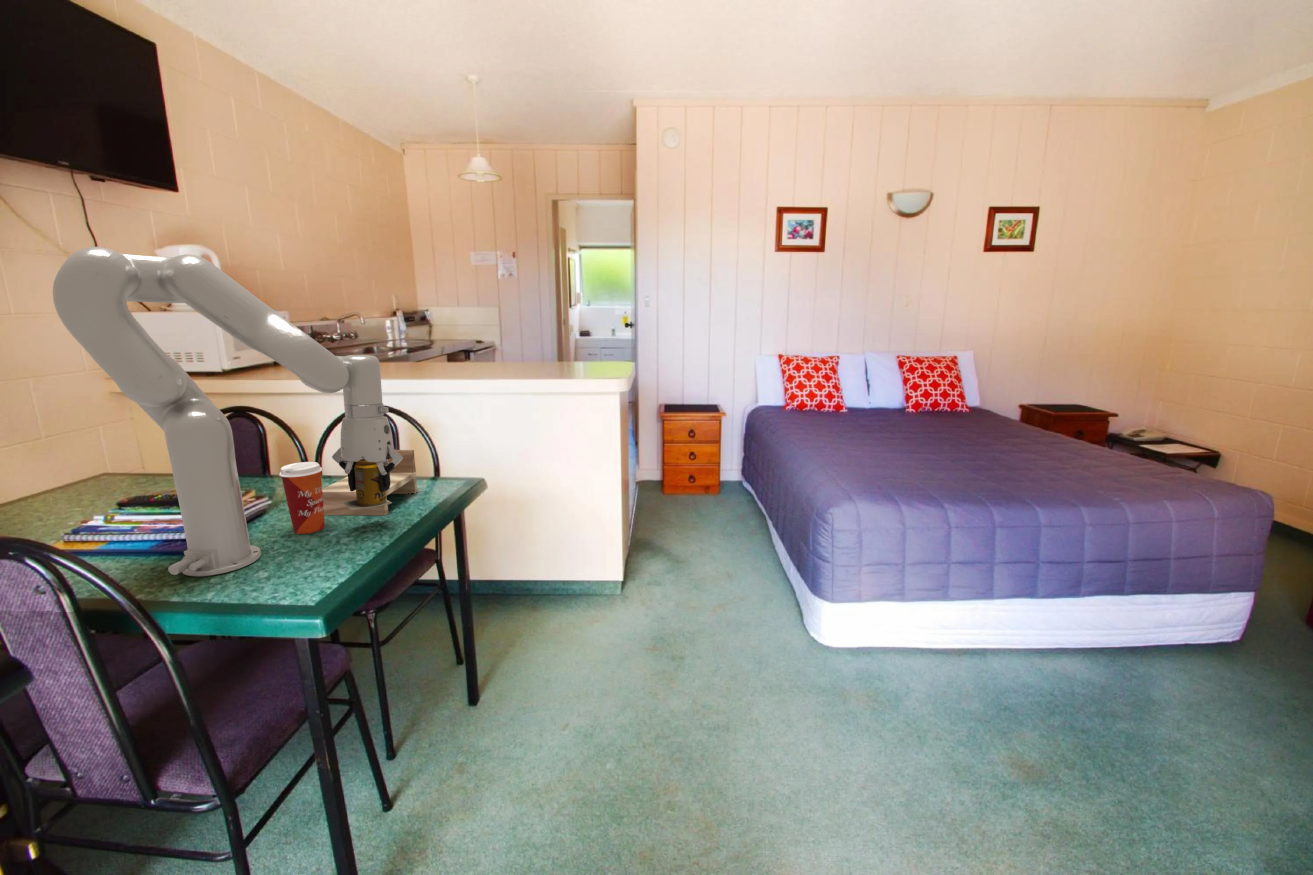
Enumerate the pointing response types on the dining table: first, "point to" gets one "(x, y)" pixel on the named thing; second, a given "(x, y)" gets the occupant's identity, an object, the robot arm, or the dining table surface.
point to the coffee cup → (304, 496)
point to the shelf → (400, 483)
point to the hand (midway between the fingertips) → (369, 489)
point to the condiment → (367, 487)
